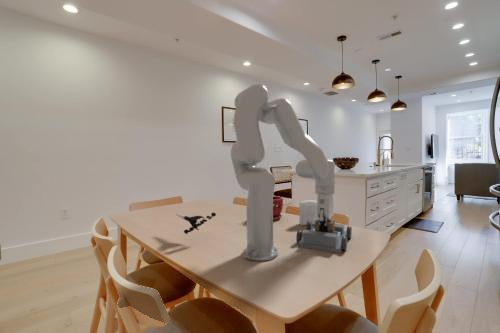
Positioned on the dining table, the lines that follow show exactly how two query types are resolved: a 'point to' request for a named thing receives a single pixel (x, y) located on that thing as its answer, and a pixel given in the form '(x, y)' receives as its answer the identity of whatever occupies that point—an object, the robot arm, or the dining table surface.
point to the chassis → (324, 238)
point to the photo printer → (308, 212)
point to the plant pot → (278, 209)
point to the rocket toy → (194, 221)
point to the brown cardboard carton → (329, 223)
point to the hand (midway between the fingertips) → (324, 233)
